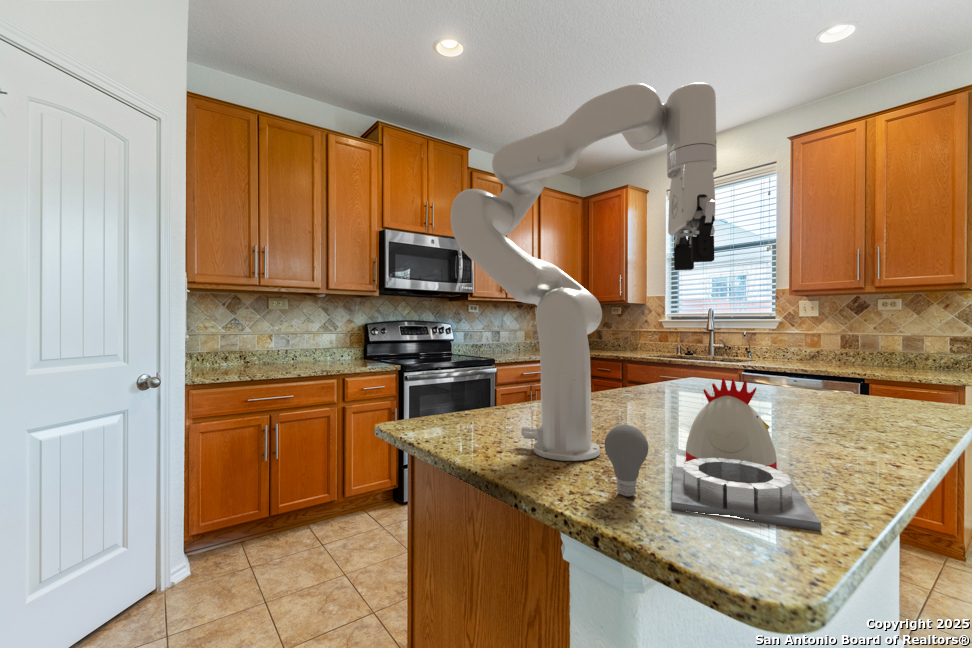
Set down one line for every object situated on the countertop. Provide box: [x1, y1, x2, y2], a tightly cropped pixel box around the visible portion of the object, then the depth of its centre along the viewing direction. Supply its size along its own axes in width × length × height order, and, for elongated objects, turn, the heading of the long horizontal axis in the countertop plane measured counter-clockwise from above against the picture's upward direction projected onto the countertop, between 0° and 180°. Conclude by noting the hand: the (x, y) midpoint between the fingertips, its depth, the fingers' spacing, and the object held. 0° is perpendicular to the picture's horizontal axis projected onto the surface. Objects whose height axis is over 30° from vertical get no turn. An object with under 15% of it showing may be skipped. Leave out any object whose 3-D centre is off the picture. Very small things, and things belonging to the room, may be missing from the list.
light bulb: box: [603, 424, 649, 497], centre depth 63 cm, size 6×6×10 cm
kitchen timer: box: [685, 377, 778, 470], centre depth 77 cm, size 14×14×15 cm
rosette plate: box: [671, 458, 822, 532], centre depth 61 cm, size 16×16×4 cm
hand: (692, 266), depth 73 cm, fingers open, 9 cm apart
